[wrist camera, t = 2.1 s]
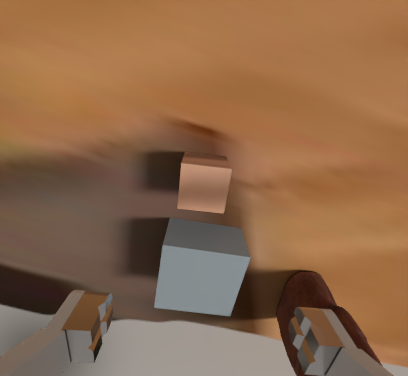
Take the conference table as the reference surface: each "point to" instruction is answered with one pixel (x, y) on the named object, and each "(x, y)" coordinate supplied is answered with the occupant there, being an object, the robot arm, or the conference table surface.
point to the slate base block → (201, 267)
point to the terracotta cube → (204, 182)
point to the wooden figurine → (313, 298)
